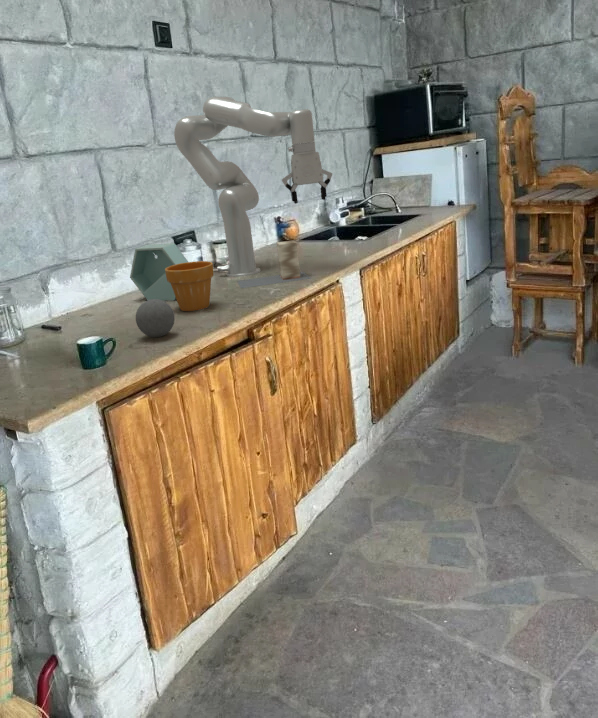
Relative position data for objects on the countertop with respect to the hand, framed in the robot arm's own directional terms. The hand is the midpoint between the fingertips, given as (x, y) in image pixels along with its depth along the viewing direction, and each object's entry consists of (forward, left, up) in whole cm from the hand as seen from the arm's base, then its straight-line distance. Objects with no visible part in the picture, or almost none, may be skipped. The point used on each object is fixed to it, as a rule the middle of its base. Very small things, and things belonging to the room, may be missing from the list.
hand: (309, 201), depth 234 cm
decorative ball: (-55, -55, -25) cm, 81 cm away
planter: (-53, -6, -25) cm, 59 cm away
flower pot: (-44, -27, -25) cm, 57 cm away
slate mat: (-16, -3, -25) cm, 30 cm away
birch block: (-10, -3, -24) cm, 26 cm away
